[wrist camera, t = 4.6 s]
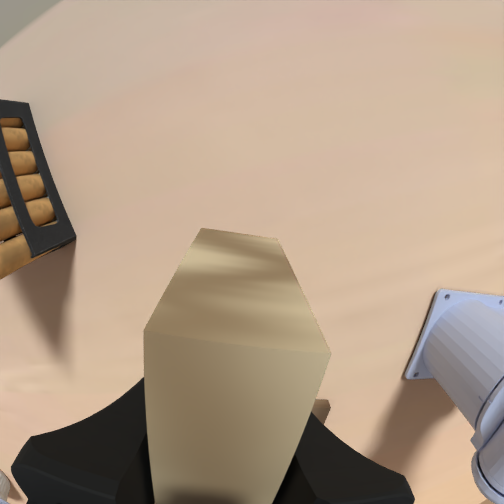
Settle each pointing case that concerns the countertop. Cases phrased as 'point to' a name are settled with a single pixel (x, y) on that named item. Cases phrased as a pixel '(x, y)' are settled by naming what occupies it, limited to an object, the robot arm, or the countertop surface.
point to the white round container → (4, 486)
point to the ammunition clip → (27, 193)
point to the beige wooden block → (229, 372)
